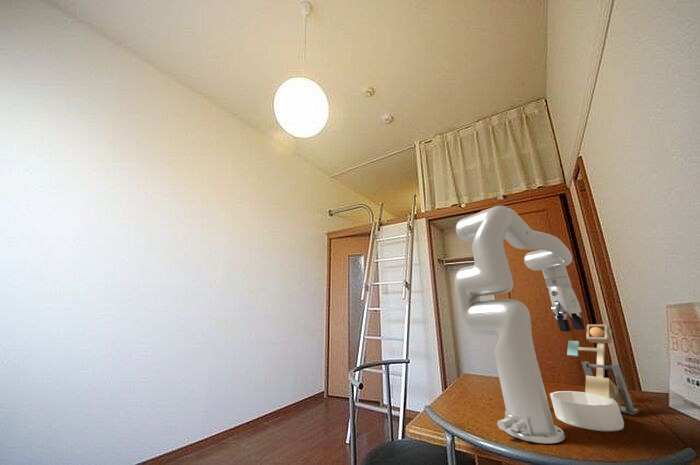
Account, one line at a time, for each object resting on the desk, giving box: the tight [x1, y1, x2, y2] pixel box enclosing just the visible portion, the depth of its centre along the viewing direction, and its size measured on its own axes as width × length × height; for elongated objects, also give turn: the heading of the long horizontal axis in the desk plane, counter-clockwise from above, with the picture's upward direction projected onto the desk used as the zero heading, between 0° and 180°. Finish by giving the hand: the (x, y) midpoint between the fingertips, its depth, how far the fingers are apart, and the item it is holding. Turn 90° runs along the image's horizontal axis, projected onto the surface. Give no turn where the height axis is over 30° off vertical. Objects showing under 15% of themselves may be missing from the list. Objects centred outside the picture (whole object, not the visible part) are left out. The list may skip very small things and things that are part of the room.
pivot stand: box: [581, 361, 640, 416], centre depth 76 cm, size 4×9×12 cm, turn 27°
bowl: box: [549, 390, 625, 432], centre depth 68 cm, size 14×14×5 cm
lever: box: [566, 323, 622, 410], centre depth 81 cm, size 23×12×6 cm
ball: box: [590, 327, 605, 337], centre depth 83 cm, size 4×4×4 cm
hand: (572, 330), depth 92 cm, fingers open, 9 cm apart
